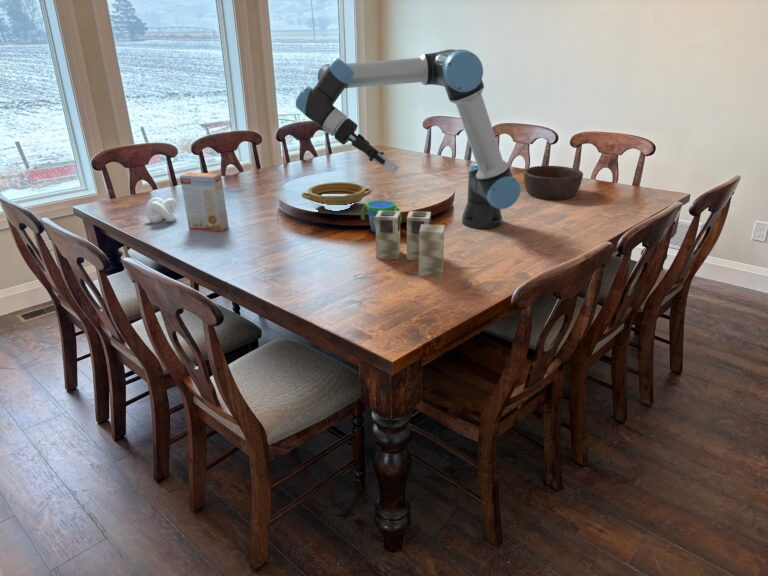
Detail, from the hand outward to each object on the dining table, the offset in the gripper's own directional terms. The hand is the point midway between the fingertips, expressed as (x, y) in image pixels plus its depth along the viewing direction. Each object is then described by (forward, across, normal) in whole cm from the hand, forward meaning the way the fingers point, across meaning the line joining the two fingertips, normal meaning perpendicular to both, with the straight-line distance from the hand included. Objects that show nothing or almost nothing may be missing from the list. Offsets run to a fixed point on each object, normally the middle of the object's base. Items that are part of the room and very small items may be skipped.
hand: (395, 170), depth 171 cm
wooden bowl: (+57, -82, +31) cm, 104 cm away
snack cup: (+8, -30, -22) cm, 38 cm away
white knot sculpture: (-63, -39, -73) cm, 104 cm away
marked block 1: (+23, -6, -17) cm, 29 cm away
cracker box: (-45, -30, -62) cm, 82 cm away
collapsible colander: (-14, -59, -29) cm, 67 cm away
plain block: (+28, +7, -17) cm, 33 cm away
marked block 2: (+15, -6, -23) cm, 28 cm away
